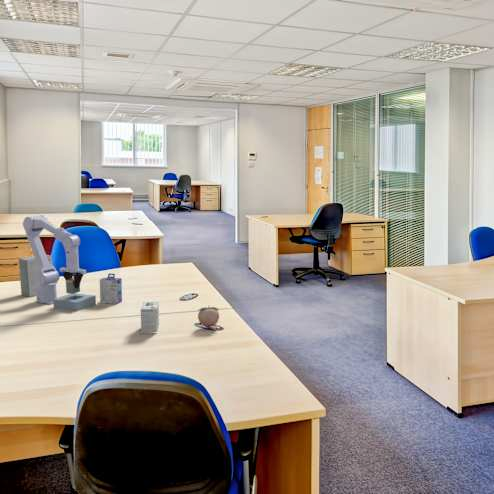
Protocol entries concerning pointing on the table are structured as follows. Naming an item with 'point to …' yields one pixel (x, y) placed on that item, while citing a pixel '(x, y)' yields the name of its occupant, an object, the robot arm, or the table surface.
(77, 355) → the table surface
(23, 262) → the hard drive box
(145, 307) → the light bulb box
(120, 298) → the ink cartridge box
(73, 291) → the two-tone metal cube
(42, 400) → the table surface
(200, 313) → the decorative fruit
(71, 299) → the well block
